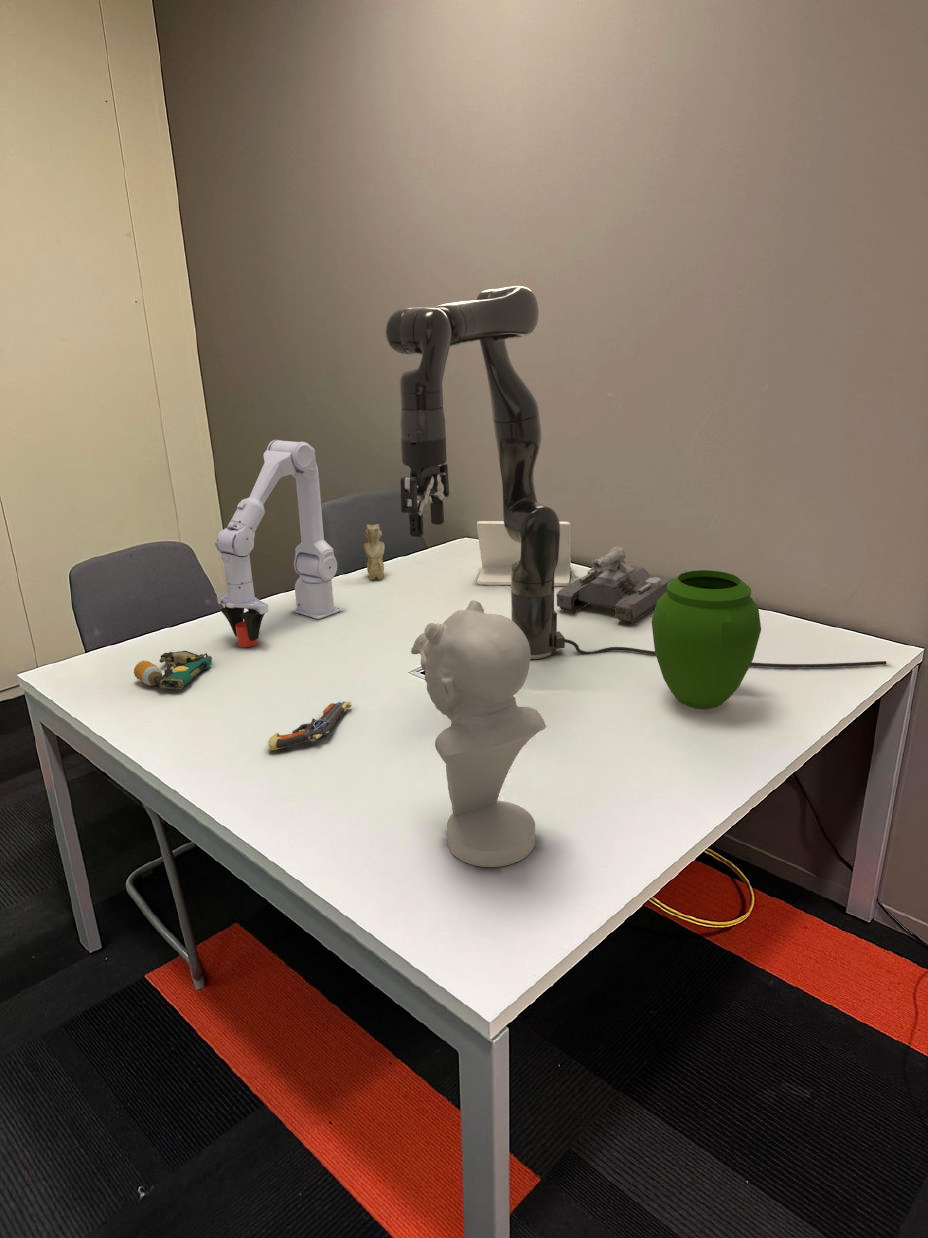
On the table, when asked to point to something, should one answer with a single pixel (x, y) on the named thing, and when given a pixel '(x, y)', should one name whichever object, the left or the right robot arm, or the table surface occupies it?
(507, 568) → the tablet stand
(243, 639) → the canister
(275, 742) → the toy gun
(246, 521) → the left robot arm
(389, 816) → the table surface
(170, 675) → the spray gun
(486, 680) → the bust sculpture
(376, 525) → the sculpture
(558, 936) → the table surface
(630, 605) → the toy
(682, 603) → the vase
